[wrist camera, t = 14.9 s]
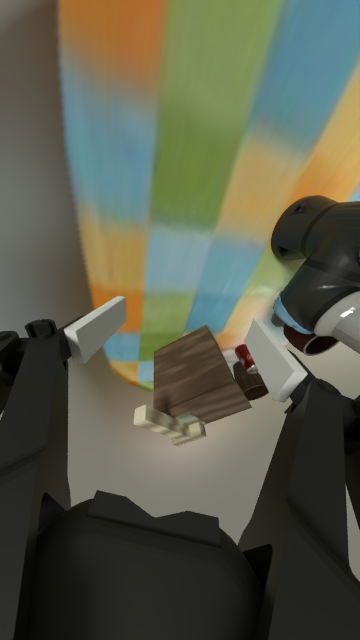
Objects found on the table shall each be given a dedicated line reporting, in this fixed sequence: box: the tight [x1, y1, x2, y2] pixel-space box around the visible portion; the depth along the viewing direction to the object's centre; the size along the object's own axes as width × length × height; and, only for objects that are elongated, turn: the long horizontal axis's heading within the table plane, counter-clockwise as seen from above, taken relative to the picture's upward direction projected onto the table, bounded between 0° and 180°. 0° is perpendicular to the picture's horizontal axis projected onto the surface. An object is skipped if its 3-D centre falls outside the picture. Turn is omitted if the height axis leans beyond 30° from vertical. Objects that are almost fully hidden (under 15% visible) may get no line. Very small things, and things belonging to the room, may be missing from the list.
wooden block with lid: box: [154, 325, 252, 425], centre depth 52 cm, size 15×28×28 cm, turn 120°
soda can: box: [235, 344, 258, 374], centre depth 66 cm, size 7×7×12 cm
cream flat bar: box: [134, 405, 206, 446], centre depth 38 cm, size 25×10×3 cm, turn 30°
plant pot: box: [233, 361, 269, 401], centre depth 73 cm, size 15×15×16 cm
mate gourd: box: [272, 313, 340, 356], centre depth 52 cm, size 16×14×20 cm
